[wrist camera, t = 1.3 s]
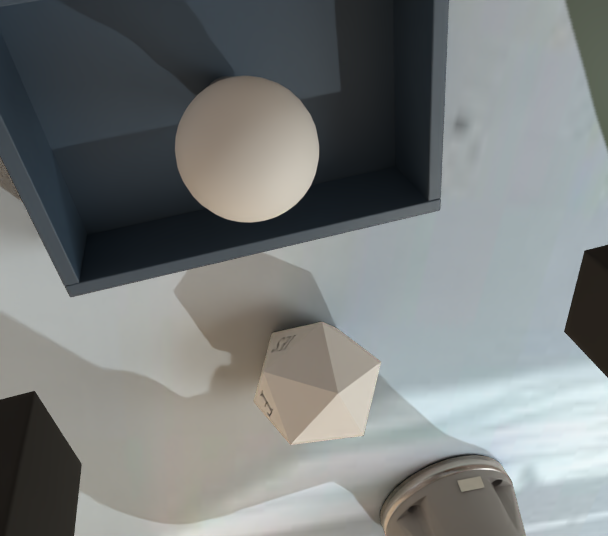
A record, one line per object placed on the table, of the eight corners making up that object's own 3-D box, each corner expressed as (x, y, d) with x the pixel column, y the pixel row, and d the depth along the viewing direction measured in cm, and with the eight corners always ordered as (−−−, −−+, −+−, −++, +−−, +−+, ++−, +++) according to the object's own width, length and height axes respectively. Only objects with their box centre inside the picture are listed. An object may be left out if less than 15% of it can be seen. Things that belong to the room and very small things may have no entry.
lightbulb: (152, 125, 29) (155, 224, 20) (192, 14, 27) (215, 74, 18) (253, 162, 32) (294, 265, 23) (298, 65, 29) (364, 139, 20)
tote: (404, 171, 35) (440, 210, 31) (80, 244, 33) (69, 298, 28) (402, -93, 27) (453, -91, 22) (-40, -24, 24) (-81, -5, 20)
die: (295, 274, 39) (236, 392, 33) (409, 325, 38) (370, 454, 32) (276, 331, 45) (224, 437, 39) (373, 374, 45) (335, 489, 39)
